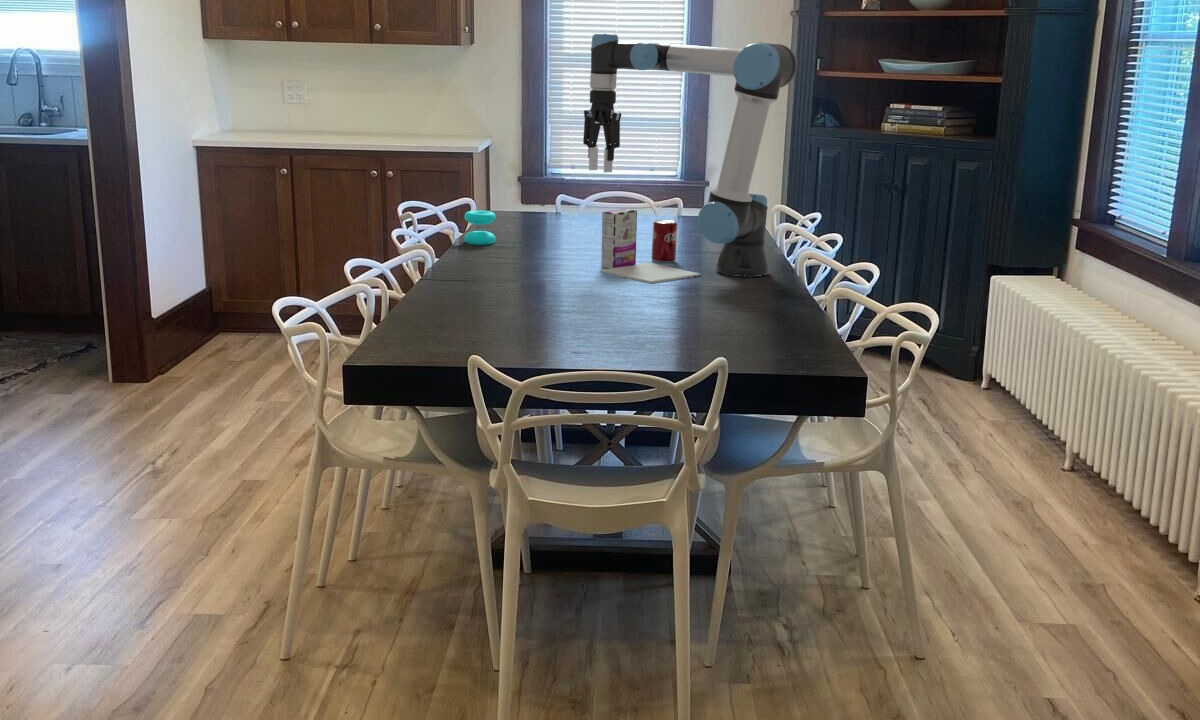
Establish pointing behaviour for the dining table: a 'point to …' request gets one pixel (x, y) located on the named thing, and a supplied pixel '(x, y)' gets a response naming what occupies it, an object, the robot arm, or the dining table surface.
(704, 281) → the dining table surface
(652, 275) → the mat
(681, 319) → the dining table surface
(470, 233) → the donuts
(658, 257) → the soda can
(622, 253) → the candy bar box
